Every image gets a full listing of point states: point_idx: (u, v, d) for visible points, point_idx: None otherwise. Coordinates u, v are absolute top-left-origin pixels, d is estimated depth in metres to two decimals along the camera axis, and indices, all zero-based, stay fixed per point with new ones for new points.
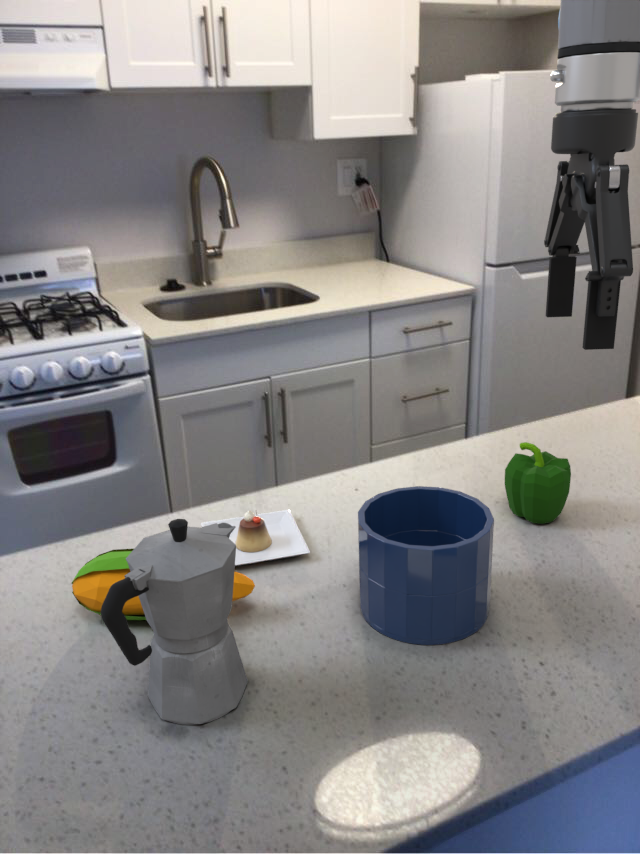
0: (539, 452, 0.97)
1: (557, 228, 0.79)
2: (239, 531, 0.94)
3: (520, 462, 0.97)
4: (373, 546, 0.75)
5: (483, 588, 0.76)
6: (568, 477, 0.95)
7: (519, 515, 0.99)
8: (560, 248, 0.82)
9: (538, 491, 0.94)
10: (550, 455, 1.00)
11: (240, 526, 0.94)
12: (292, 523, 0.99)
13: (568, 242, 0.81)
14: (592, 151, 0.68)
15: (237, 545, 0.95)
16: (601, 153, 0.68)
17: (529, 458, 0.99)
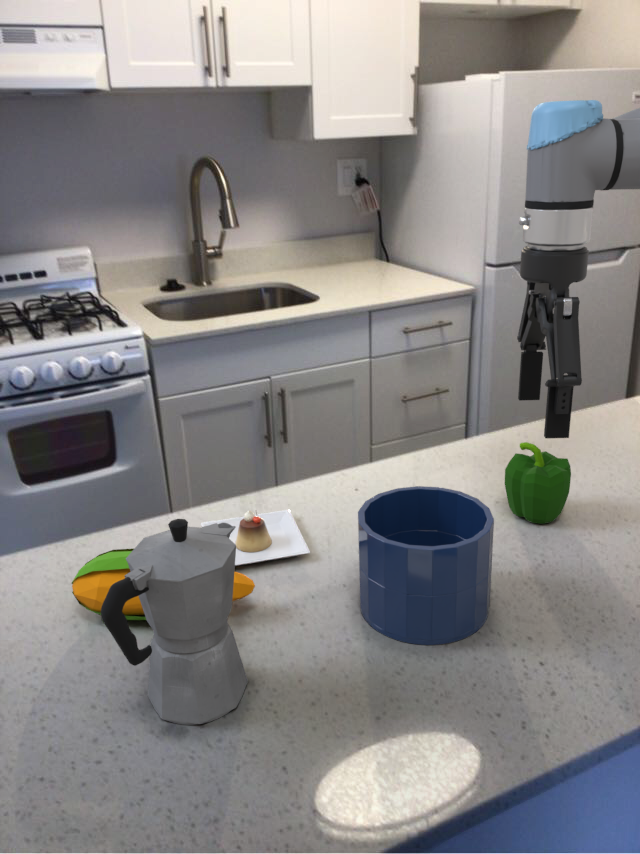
0: (539, 452, 0.97)
1: (527, 331, 0.97)
2: (239, 531, 0.94)
3: (520, 462, 0.97)
4: (373, 546, 0.75)
5: (483, 588, 0.76)
6: (568, 477, 0.95)
7: (519, 515, 0.99)
8: (530, 345, 0.99)
9: (538, 491, 0.94)
10: (550, 455, 1.00)
11: (240, 526, 0.94)
12: (292, 523, 0.99)
13: (536, 341, 0.98)
14: (551, 283, 0.86)
15: (237, 545, 0.95)
16: (558, 284, 0.86)
17: (529, 458, 0.99)
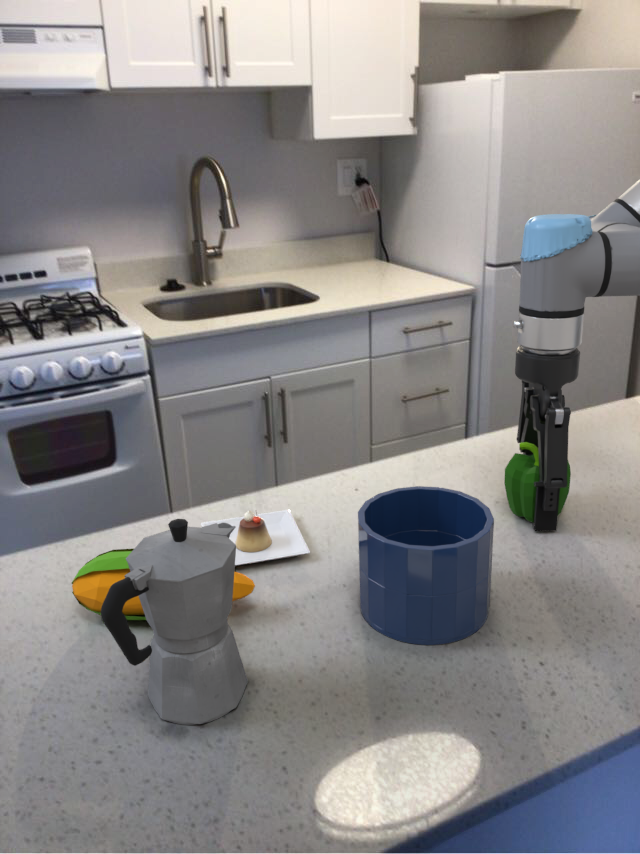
0: None
1: (525, 431, 1.00)
2: (239, 531, 0.94)
3: (520, 462, 0.97)
4: (373, 546, 0.75)
5: (483, 588, 0.76)
6: (568, 477, 0.95)
7: (519, 515, 0.99)
8: None
9: None
10: None
11: (240, 526, 0.94)
12: (292, 523, 0.99)
13: (534, 442, 1.01)
14: (544, 384, 0.90)
15: (237, 545, 0.95)
16: (551, 386, 0.90)
17: (529, 458, 0.99)
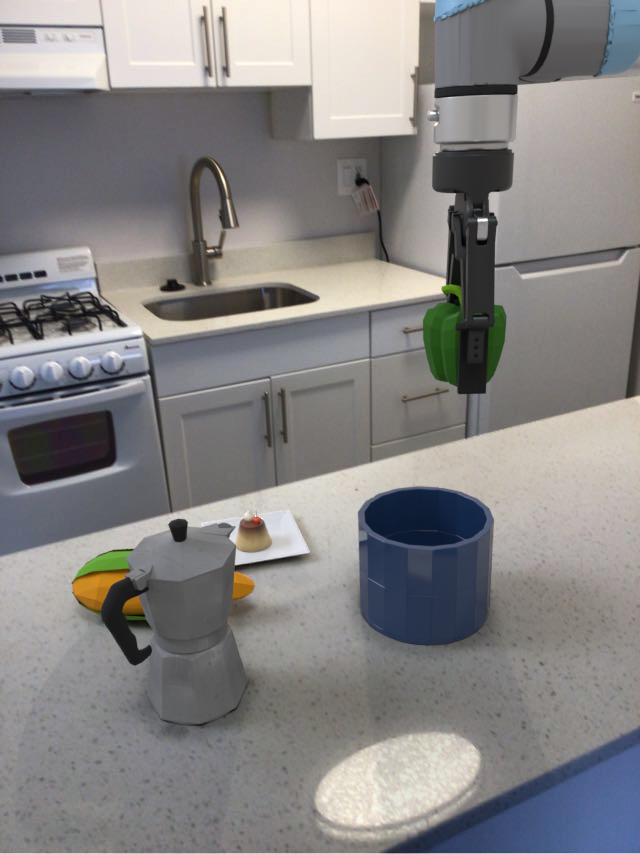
0: None
1: (451, 274, 0.79)
2: (239, 531, 0.94)
3: (441, 308, 0.76)
4: (373, 546, 0.75)
5: (483, 588, 0.76)
6: (501, 324, 0.74)
7: (441, 379, 0.78)
8: (458, 298, 0.81)
9: None
10: None
11: (240, 526, 0.94)
12: (292, 523, 0.99)
13: None
14: (466, 191, 0.69)
15: (237, 545, 0.95)
16: (474, 193, 0.69)
17: (454, 306, 0.77)
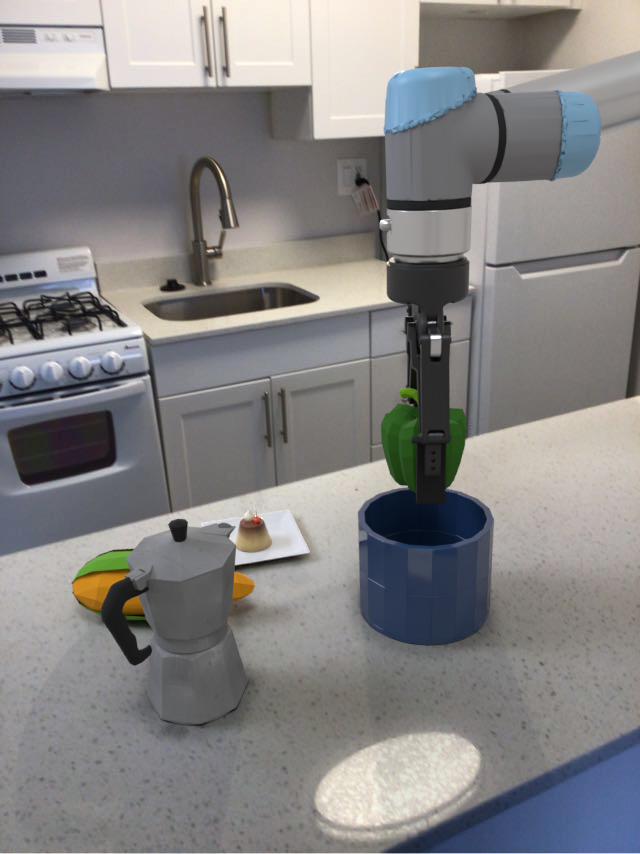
0: None
1: (410, 374, 0.77)
2: (239, 531, 0.94)
3: (399, 413, 0.74)
4: (373, 546, 0.75)
5: (483, 588, 0.76)
6: (459, 432, 0.72)
7: (401, 483, 0.76)
8: None
9: None
10: None
11: (240, 526, 0.94)
12: (292, 523, 0.99)
13: None
14: (419, 304, 0.67)
15: (237, 545, 0.95)
16: (428, 306, 0.67)
17: (413, 409, 0.75)
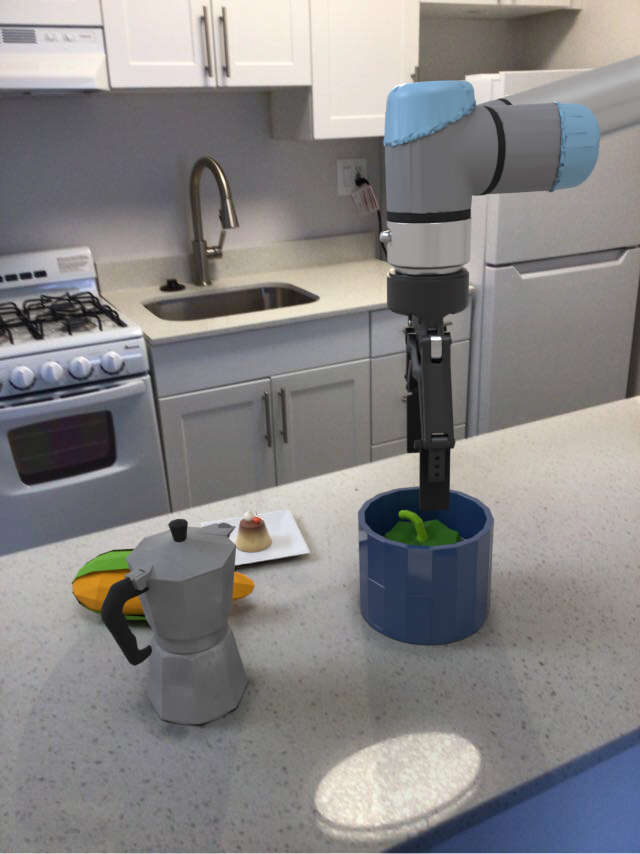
0: (420, 524, 0.79)
1: (409, 371, 0.78)
2: (239, 531, 0.94)
3: (397, 535, 0.80)
4: (373, 546, 0.75)
5: (483, 588, 0.76)
6: None
7: None
8: (416, 386, 0.81)
9: None
10: (440, 525, 0.82)
11: (240, 526, 0.94)
12: (292, 523, 0.99)
13: None
14: (419, 316, 0.67)
15: (237, 545, 0.95)
16: (428, 317, 0.67)
17: (412, 529, 0.81)
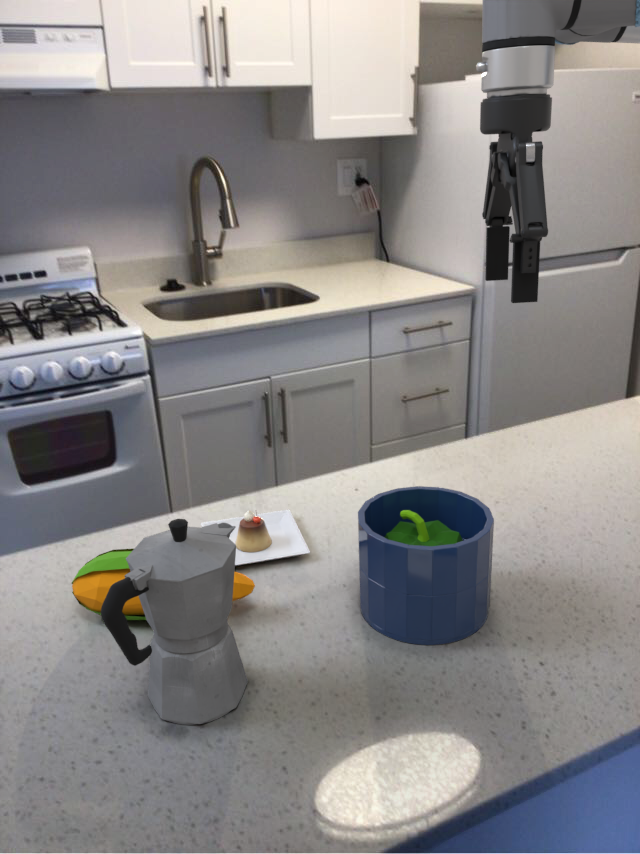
0: (422, 524, 0.79)
1: (491, 201, 0.91)
2: (239, 531, 0.94)
3: (398, 534, 0.80)
4: (373, 546, 0.75)
5: (483, 588, 0.76)
6: None
7: None
8: (495, 219, 0.93)
9: None
10: (441, 526, 0.82)
11: (240, 526, 0.94)
12: (292, 523, 0.99)
13: (501, 213, 0.92)
14: (513, 131, 0.80)
15: (237, 545, 0.95)
16: (520, 132, 0.79)
17: (413, 529, 0.81)
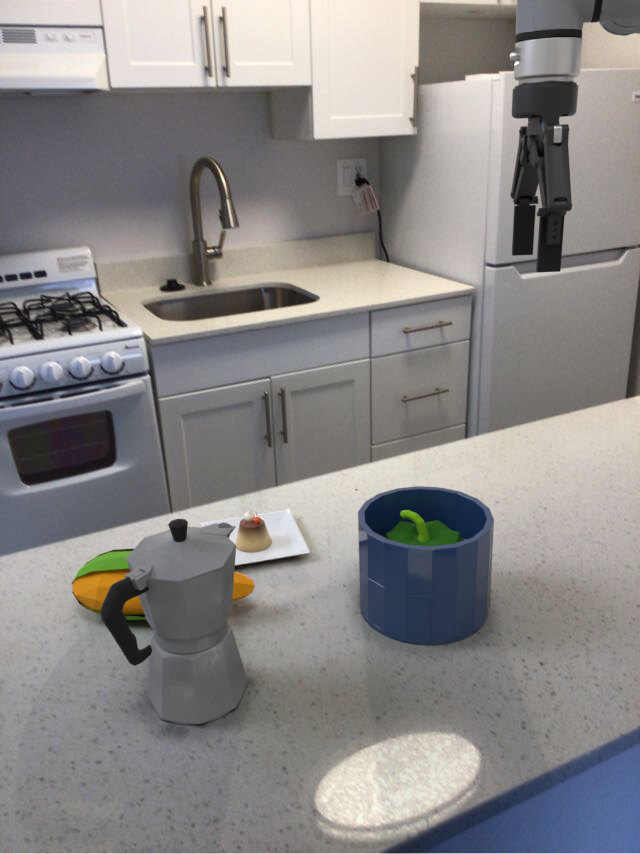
0: (422, 524, 0.79)
1: (519, 181, 0.99)
2: (239, 531, 0.94)
3: (398, 534, 0.80)
4: (373, 546, 0.75)
5: (483, 588, 0.76)
6: None
7: None
8: (522, 198, 1.01)
9: None
10: (441, 526, 0.82)
11: (240, 526, 0.94)
12: (292, 523, 0.99)
13: (528, 193, 1.00)
14: (542, 115, 0.88)
15: (237, 545, 0.95)
16: (548, 116, 0.88)
17: (413, 529, 0.81)
